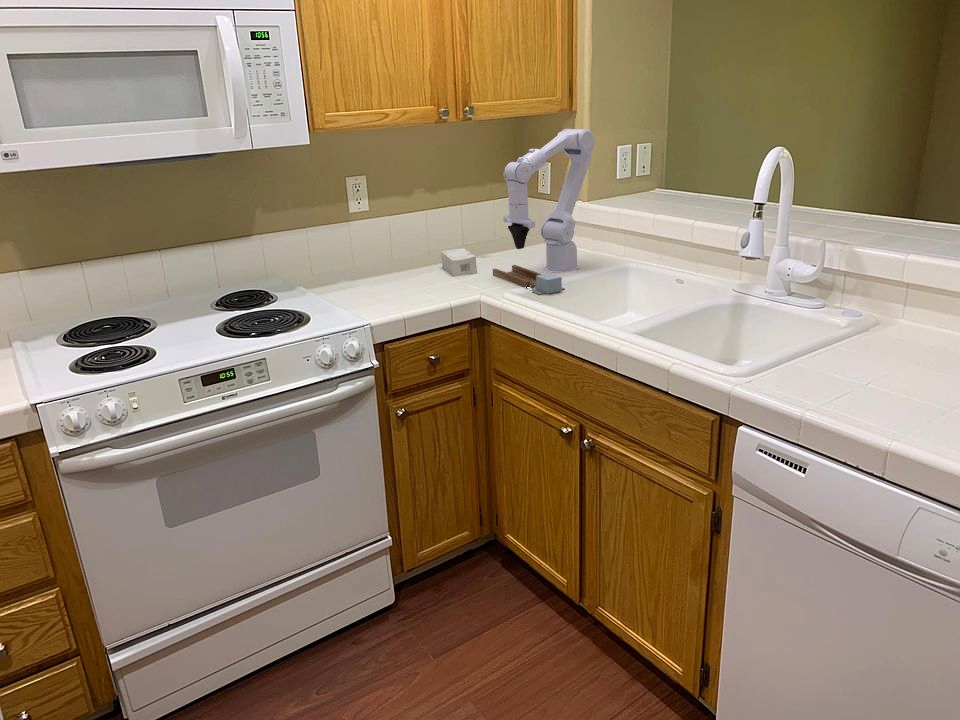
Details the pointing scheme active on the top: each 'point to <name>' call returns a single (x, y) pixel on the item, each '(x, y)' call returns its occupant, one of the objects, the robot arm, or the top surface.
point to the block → (549, 283)
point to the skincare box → (459, 262)
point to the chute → (520, 277)
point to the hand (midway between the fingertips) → (519, 248)
